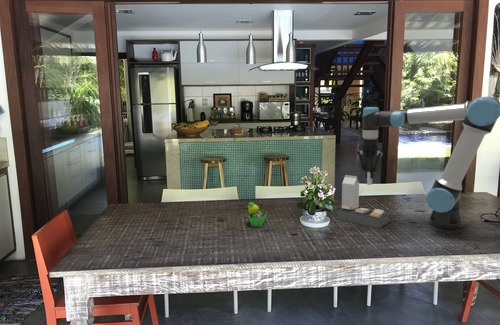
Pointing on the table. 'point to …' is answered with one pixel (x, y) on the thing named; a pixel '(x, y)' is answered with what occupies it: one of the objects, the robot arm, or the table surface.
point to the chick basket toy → (256, 215)
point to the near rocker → (377, 213)
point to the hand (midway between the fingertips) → (369, 184)
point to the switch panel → (362, 218)
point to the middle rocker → (362, 210)
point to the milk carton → (350, 191)
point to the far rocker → (348, 207)
